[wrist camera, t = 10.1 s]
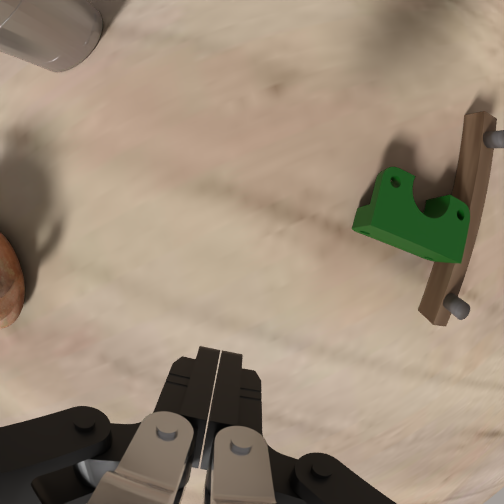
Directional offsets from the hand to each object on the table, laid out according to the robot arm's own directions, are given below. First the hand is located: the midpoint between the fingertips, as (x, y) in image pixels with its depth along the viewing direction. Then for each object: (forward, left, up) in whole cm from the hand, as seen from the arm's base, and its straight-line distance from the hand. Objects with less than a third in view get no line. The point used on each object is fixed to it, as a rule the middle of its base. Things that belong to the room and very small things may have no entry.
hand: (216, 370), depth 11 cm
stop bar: (+23, +8, -22) cm, 33 cm away
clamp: (+16, +6, -22) cm, 28 cm away
